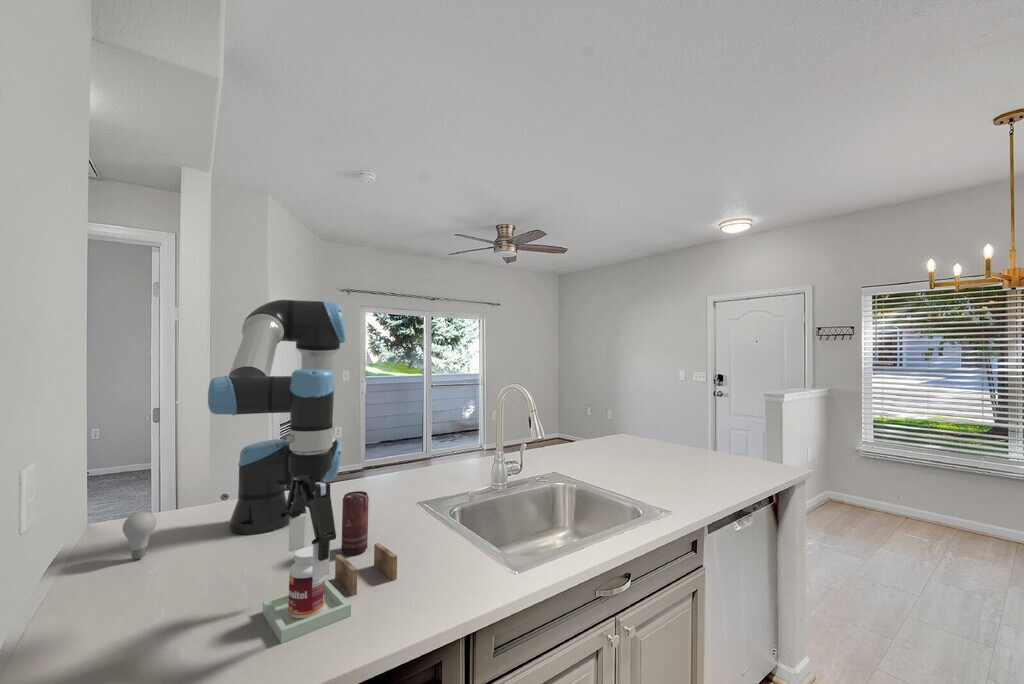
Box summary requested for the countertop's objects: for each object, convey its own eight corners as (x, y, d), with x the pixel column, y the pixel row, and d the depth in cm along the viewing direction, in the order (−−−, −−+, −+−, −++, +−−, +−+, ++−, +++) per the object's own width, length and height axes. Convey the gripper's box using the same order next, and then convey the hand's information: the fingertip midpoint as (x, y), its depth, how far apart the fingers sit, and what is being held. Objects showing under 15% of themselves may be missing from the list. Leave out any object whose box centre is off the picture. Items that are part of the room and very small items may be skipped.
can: (359, 557, 106) (361, 499, 106) (336, 554, 107) (337, 496, 108) (372, 546, 112) (374, 491, 112) (350, 544, 113) (351, 489, 114)
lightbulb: (114, 562, 102) (116, 514, 102) (144, 551, 108) (146, 506, 108) (131, 567, 100) (133, 518, 100) (161, 555, 105) (162, 509, 106)
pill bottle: (280, 615, 81) (282, 554, 82) (307, 598, 87) (308, 542, 87) (305, 623, 79) (307, 561, 79) (331, 605, 85) (332, 547, 85)
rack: (334, 578, 96) (335, 555, 96) (377, 564, 103) (378, 542, 103) (352, 595, 89) (352, 570, 89) (396, 579, 96) (397, 556, 96)
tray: (262, 612, 83) (262, 601, 83) (326, 590, 91) (327, 579, 91) (281, 643, 74) (281, 631, 74) (350, 615, 82) (351, 604, 82)
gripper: (271, 441, 90) (268, 544, 90) (313, 468, 72) (309, 597, 72) (309, 436, 95) (306, 534, 95) (357, 460, 77) (354, 581, 77)
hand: (307, 562), depth 83 cm, fingers open, 13 cm apart
